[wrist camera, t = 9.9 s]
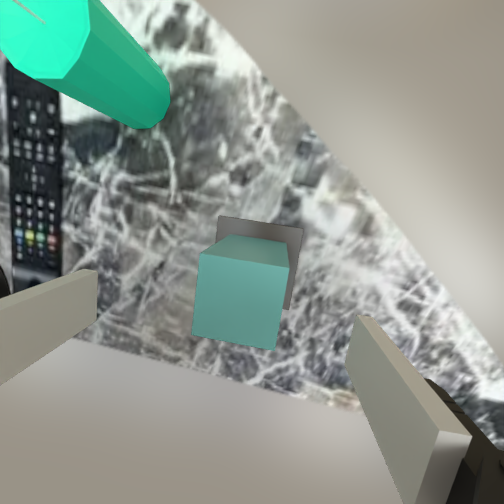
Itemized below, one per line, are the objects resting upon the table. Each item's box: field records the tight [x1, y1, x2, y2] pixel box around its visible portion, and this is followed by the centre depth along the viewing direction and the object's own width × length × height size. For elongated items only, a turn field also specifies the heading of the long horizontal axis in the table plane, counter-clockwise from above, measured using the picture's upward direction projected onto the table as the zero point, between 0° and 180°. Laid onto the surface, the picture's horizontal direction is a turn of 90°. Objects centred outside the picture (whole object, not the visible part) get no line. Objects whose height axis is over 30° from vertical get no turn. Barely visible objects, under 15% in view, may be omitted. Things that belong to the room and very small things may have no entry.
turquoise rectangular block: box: [191, 234, 289, 351], centre depth 20 cm, size 5×5×10 cm
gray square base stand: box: [215, 216, 304, 310], centre depth 21 cm, size 8×8×10 cm
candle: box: [0, 0, 170, 129], centre depth 18 cm, size 6×6×12 cm
